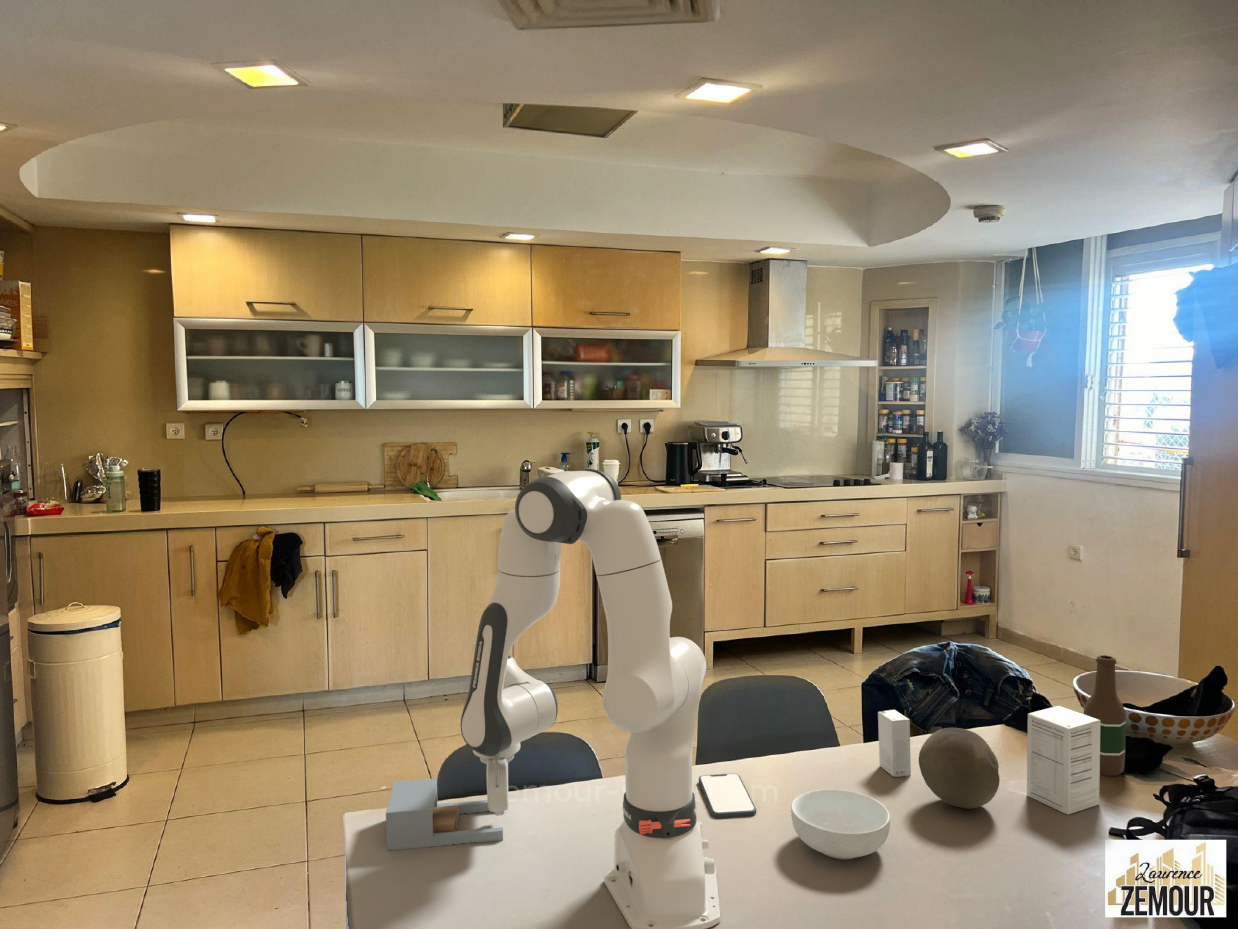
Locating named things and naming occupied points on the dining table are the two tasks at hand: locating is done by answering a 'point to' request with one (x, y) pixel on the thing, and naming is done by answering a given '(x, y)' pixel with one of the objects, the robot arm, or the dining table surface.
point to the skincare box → (894, 743)
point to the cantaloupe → (959, 767)
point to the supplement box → (1063, 759)
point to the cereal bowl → (840, 822)
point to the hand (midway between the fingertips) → (499, 812)
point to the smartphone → (726, 796)
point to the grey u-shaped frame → (427, 818)
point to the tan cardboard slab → (445, 819)
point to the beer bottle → (1108, 717)
